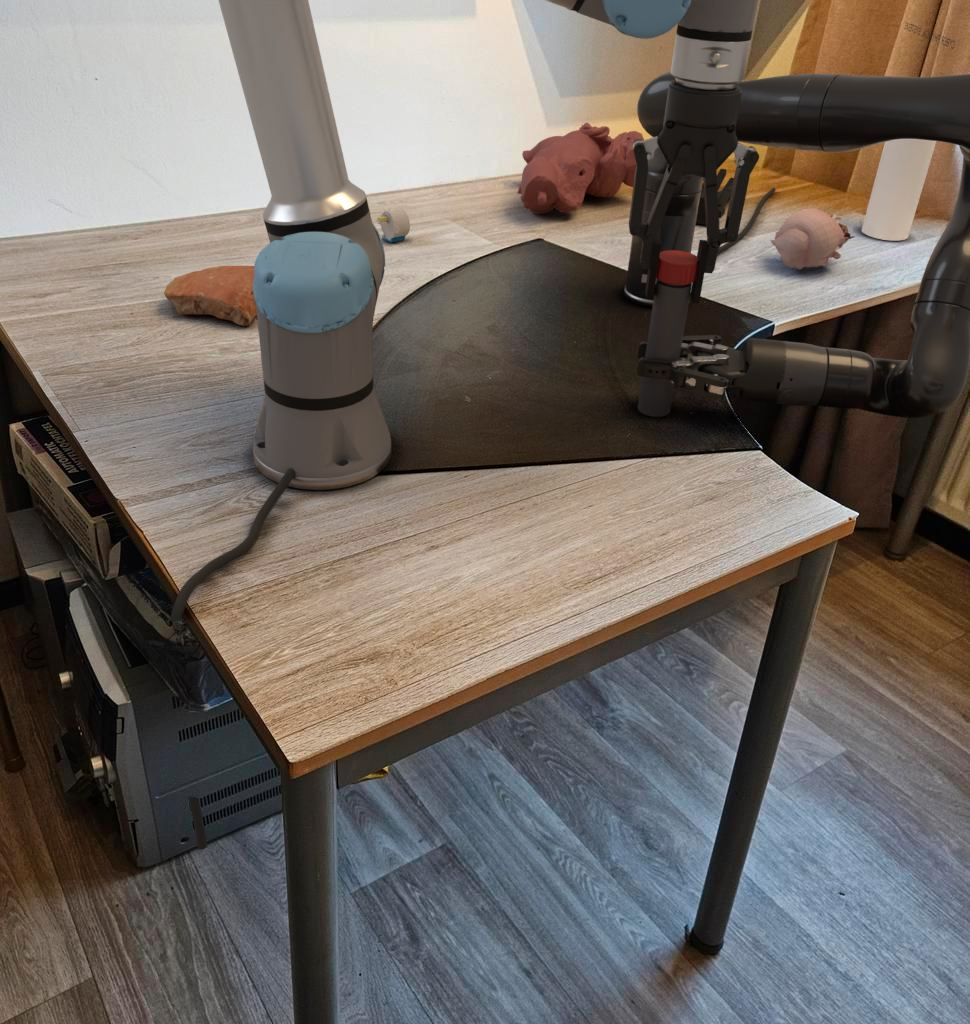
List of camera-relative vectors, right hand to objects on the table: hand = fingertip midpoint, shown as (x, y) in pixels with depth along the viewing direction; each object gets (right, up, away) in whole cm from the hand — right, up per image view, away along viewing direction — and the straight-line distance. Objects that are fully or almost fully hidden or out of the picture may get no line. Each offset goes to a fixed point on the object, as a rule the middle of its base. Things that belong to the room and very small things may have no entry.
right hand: (639, 358), depth 117 cm
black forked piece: (+27, +44, +78) cm, 94 cm away
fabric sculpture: (-1, +43, +75) cm, 86 cm away
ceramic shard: (-57, +12, +25) cm, 64 cm away
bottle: (+2, -6, +4) cm, 7 cm away
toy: (+37, +24, +51) cm, 67 cm away
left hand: (+3, +6, -5) cm, 9 cm away
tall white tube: (+57, +35, +68) cm, 95 cm away
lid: (+3, +10, -7) cm, 13 cm away
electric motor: (-35, +29, +52) cm, 69 cm away
